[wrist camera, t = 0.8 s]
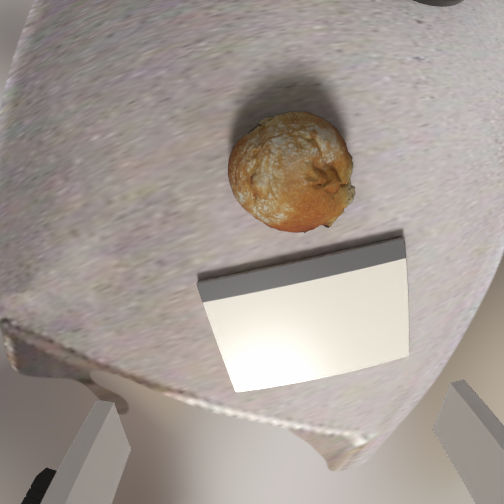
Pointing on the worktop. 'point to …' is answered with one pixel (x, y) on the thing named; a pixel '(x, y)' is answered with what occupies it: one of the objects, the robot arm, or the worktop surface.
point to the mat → (311, 315)
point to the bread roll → (292, 172)
